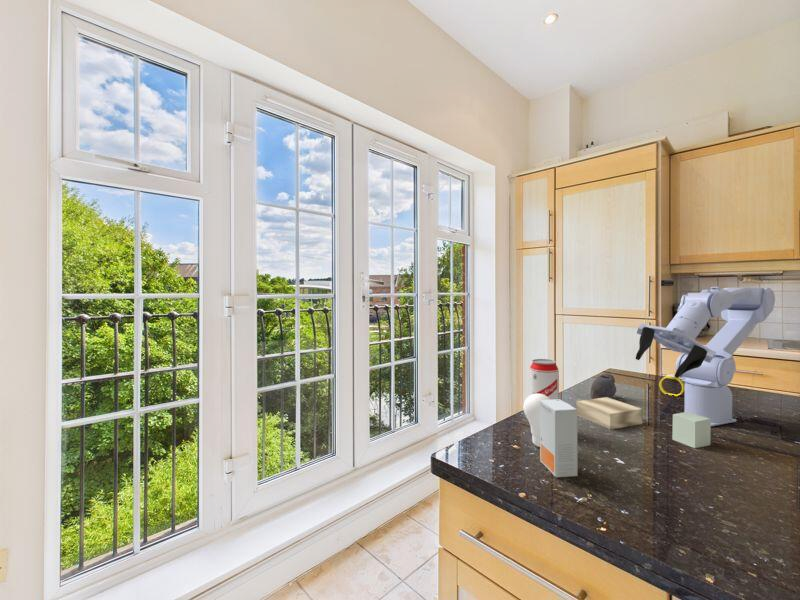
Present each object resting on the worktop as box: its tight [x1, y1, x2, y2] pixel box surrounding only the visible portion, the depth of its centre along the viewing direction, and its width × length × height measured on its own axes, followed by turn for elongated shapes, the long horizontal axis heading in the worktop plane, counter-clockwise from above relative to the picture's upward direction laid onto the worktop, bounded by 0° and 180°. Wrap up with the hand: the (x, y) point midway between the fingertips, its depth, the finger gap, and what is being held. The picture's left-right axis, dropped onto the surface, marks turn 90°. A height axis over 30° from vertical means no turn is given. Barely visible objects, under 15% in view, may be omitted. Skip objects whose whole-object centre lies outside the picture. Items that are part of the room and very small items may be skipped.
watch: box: [658, 374, 685, 397], centre depth 110 cm, size 6×3×6 cm, turn 41°
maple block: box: [576, 397, 643, 430], centre depth 91 cm, size 10×10×4 cm
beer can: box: [529, 358, 560, 400], centre depth 85 cm, size 6×6×16 cm
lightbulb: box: [522, 394, 551, 448], centre depth 76 cm, size 6×6×11 cm
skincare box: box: [539, 398, 579, 478], centre depth 67 cm, size 6×4×12 cm
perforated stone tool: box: [589, 373, 617, 399], centre depth 105 cm, size 15×5×7 cm, turn 136°
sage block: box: [671, 411, 712, 449], centre depth 77 cm, size 4×4×6 cm
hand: (656, 365), depth 79 cm, fingers open, 7 cm apart
